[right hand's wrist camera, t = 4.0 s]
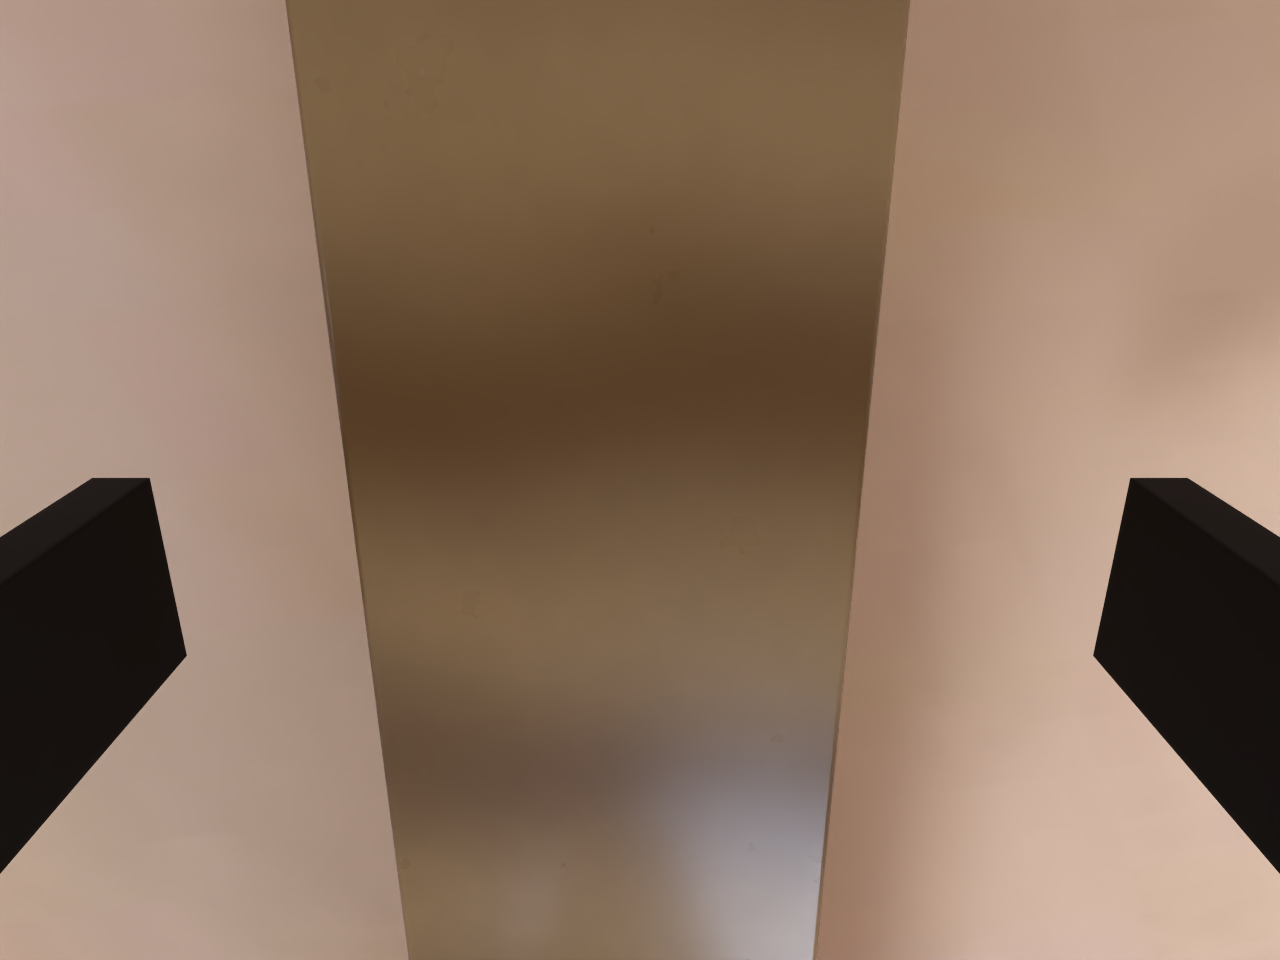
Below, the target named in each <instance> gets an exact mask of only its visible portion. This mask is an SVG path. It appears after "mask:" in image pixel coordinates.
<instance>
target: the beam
mask: <svg viewBox="0 0 1280 960" xmlns="http://www.w3.org/2000/svg"><path fill="white" fill-rule="evenodd" d="M285 1H286V8H287V16H288V24H289V32H290V39H291V47H292V55H293V63H294V71H295V78H296V86H297V94H298V102H299V109H300V117H301V125H302V133H303V140H304V148H305V156H306V164H307V172H308V179H309V187H310V195H311V203H312V210H313V218H314V226H315V234H316V241H317V249H318V257H319V265H320V273H321V280H322V288H323V296H324V304H325V311H326V319H327V327H328V335H329V342H330V350H331V358H332V366H333V374H334V381H335V389H336V397H337V405H338V412H339V420H340V428H341V436H342V443H343V451H344V459H345V467H346V475H347V482H348V490H349V498H350V506H351V513H352V521H353V529H354V537H355V544H356V552H357V560H358V568H359V576H360V583H361V591H362V599H363V607H364V614H365V622H366V630H367V638H368V645H369V653H370V661H371V669H372V677H373V684H374V692H375V700H376V708H377V715H378V723H379V731H380V739H381V746H382V754H383V762H384V770H385V778H386V785H387V793H388V801H389V809H390V816H391V824H392V832H393V840H394V847H395V855H396V863H397V871H398V879H399V886H400V894H401V902H402V910H403V917H404V925H405V933H406V941H407V948H408V956H409V960H816V954H817V943H818V933H819V923H820V913H821V903H822V893H823V882H824V872H825V862H826V852H827V842H828V832H829V821H830V811H831V801H832V791H833V781H834V770H835V760H836V750H837V740H838V730H839V720H840V709H841V699H842V689H843V679H844V669H845V658H846V648H847V638H848V628H849V618H850V608H851V597H852V587H853V577H854V567H855V557H856V546H857V536H858V526H859V516H860V506H861V496H862V485H863V475H864V465H865V455H866V445H867V435H868V424H869V414H870V404H871V394H872V384H873V373H874V363H875V353H876V343H877V333H878V323H879V312H880V302H881V292H882V282H883V272H884V261H885V251H886V241H887V231H888V221H889V211H890V200H891V190H892V180H893V170H894V160H895V150H896V139H897V129H898V119H899V109H900V99H901V88H902V78H903V68H904V58H905V48H906V38H907V27H908V17H909V7H910V0H285Z"/></svg>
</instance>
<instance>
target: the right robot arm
mask: <svg viewBox="0 0 1280 960" xmlns="http://www.w3.org/2000/svg"><path fill="white" fill-rule="evenodd" d="M186 656H187V655H186V650H185V645H184V640H183V635H182V631H181V626H180V621H179V616H178V612H177V607H176V602H175V597H174V592H173V588H172V583H171V578H170V573H169V569H168V564H167V559H166V554H165V549H164V545H163V540H162V535H161V530H160V525H159V521H158V516H157V511H156V506H155V502H154V497H153V492H152V487H151V482H150V478H92V479H90V480H89V481H87V482H85V483H84V484H82V485H81V486H79V487H78V488H76V489H75V490H73V491H71V492H70V493H68V494H67V495H65V496H64V497H62V498H61V499H59V500H57V501H56V502H54V503H53V504H51V505H50V506H48V507H47V508H45V509H43V510H42V511H40V512H39V513H37V514H36V515H34V516H33V517H31V518H29V519H28V520H26V521H25V522H23V523H22V524H20V525H19V526H17V527H15V528H14V529H12V530H11V531H9V532H8V533H6V534H5V535H3V536H1V537H0V873H1V872H2V871H3V870H4V869H5V867H6V866H7V865H8V864H9V863H10V862H11V860H12V859H13V858H14V857H15V856H16V855H17V853H18V852H19V851H20V850H21V849H22V848H23V846H24V845H25V844H26V843H27V842H28V841H29V839H30V838H31V837H32V836H33V835H34V834H35V832H36V831H37V830H38V829H39V828H40V827H41V825H42V824H43V823H44V822H45V821H46V820H47V818H48V817H49V816H50V815H51V814H52V813H53V811H54V810H55V809H56V808H57V807H58V806H59V804H60V803H61V802H62V801H63V800H64V799H65V797H66V796H67V795H68V794H69V793H70V792H71V790H72V789H73V788H74V787H75V786H76V785H77V783H78V782H79V781H80V780H81V779H82V777H83V776H84V775H85V774H86V773H87V772H88V770H89V769H90V768H91V767H92V766H93V765H94V763H95V762H96V761H97V760H98V759H99V758H100V756H101V755H102V754H103V753H104V752H105V751H106V749H107V748H108V747H109V746H110V745H111V744H112V742H113V741H114V740H115V739H116V738H117V737H118V735H119V734H120V733H121V732H122V731H123V730H124V728H125V727H126V726H127V725H128V724H129V723H130V721H131V720H132V719H133V718H134V717H135V716H136V714H137V713H138V712H139V711H140V710H141V709H142V707H143V706H144V705H145V704H146V703H147V702H148V700H149V699H150V698H151V697H152V696H153V695H154V693H155V692H156V691H157V690H158V689H159V688H160V686H161V685H162V684H163V683H164V682H165V681H166V679H167V678H168V677H169V676H170V675H171V673H172V672H173V671H174V670H175V669H176V668H177V666H178V665H179V664H180V663H181V662H182V661H183V659H184V658H185V657H186ZM1093 656H1094V657H1095V658H1096V659H1097V661H1098V662H1099V663H1100V664H1101V665H1102V666H1103V668H1104V669H1105V670H1106V671H1107V672H1108V673H1109V675H1110V676H1111V677H1112V678H1113V679H1114V681H1115V682H1116V683H1117V684H1118V685H1119V686H1120V688H1121V689H1122V690H1123V691H1124V692H1125V693H1126V695H1127V696H1128V697H1129V698H1130V699H1131V700H1132V702H1133V703H1134V704H1135V705H1136V706H1137V707H1138V709H1139V710H1140V711H1141V712H1142V713H1143V714H1144V716H1145V717H1146V718H1147V719H1148V720H1149V721H1150V723H1151V724H1152V725H1153V726H1154V727H1155V728H1156V730H1157V731H1158V732H1159V733H1160V734H1161V735H1162V737H1163V738H1164V739H1165V740H1166V741H1167V742H1168V744H1169V745H1170V746H1171V747H1172V748H1173V749H1174V751H1175V752H1176V753H1177V754H1178V755H1179V756H1180V758H1181V759H1182V760H1183V761H1184V762H1185V763H1186V765H1187V766H1188V767H1189V768H1190V769H1191V770H1192V772H1193V773H1194V774H1195V775H1196V776H1197V777H1198V779H1199V780H1200V781H1201V782H1202V783H1203V785H1204V786H1205V787H1206V788H1207V789H1208V790H1209V792H1210V793H1211V794H1212V795H1213V796H1214V797H1215V799H1216V800H1217V801H1218V802H1219V803H1220V804H1221V806H1222V807H1223V808H1224V809H1225V810H1226V811H1227V813H1228V814H1229V815H1230V816H1231V817H1232V818H1233V820H1234V821H1235V822H1236V823H1237V824H1238V825H1239V827H1240V828H1241V829H1242V830H1243V831H1244V832H1245V834H1246V835H1247V836H1248V837H1249V838H1250V839H1251V841H1252V842H1253V843H1254V844H1255V845H1256V846H1257V848H1258V849H1259V850H1260V851H1261V852H1262V853H1263V855H1264V856H1265V857H1266V858H1267V859H1268V860H1269V862H1270V863H1271V864H1272V865H1273V866H1274V867H1275V869H1276V870H1277V871H1278V872H1279V873H1280V537H1279V536H1277V535H1275V534H1274V533H1272V532H1271V531H1269V530H1268V529H1266V528H1265V527H1263V526H1261V525H1260V524H1258V523H1257V522H1255V521H1254V520H1252V519H1251V518H1249V517H1247V516H1246V515H1244V514H1243V513H1241V512H1240V511H1238V510H1237V509H1235V508H1233V507H1232V506H1230V505H1229V504H1227V503H1226V502H1224V501H1223V500H1221V499H1219V498H1218V497H1216V496H1215V495H1213V494H1212V493H1210V492H1209V491H1207V490H1205V489H1204V488H1202V487H1201V486H1199V485H1198V484H1196V483H1195V482H1193V481H1191V480H1190V479H1188V478H1130V482H1129V487H1128V492H1127V497H1126V502H1125V506H1124V511H1123V516H1122V521H1121V525H1120V530H1119V535H1118V540H1117V545H1116V549H1115V554H1114V559H1113V564H1112V569H1111V573H1110V578H1109V583H1108V588H1107V592H1106V597H1105V602H1104V607H1103V612H1102V616H1101V621H1100V626H1099V631H1098V635H1097V640H1096V645H1095V650H1094V655H1093Z"/></svg>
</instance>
